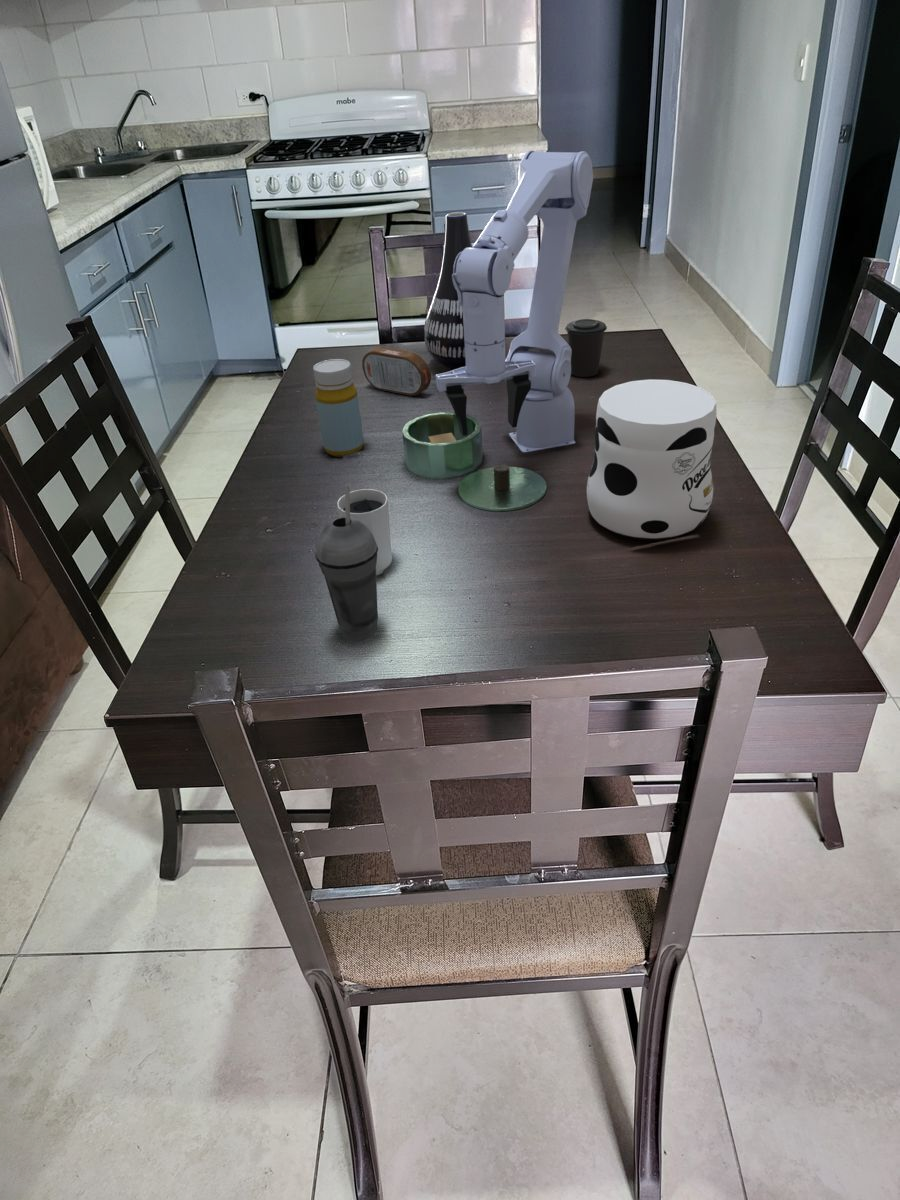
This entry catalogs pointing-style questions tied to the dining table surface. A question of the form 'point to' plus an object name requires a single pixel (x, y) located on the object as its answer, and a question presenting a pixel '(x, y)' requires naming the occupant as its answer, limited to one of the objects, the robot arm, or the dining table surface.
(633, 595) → the dining table surface
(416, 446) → the jar
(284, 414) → the dining table surface
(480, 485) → the lid
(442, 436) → the block
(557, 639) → the dining table surface
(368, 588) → the beverage cup
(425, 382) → the tin
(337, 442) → the bottle
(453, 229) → the vase
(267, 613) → the dining table surface
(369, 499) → the white cylindrical cup
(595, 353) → the coffee cup
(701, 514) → the milk container
